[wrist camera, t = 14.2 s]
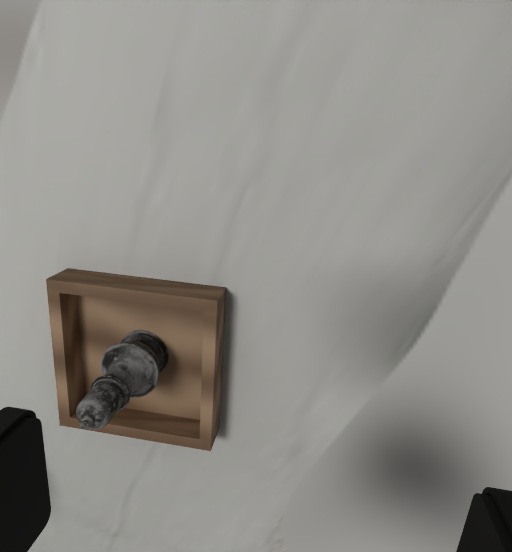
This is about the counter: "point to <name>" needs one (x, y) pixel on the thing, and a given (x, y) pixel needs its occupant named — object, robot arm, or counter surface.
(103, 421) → the dark grey rounded piece
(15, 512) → the robot arm
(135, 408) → the tray
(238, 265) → the counter surface
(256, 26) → the counter surface
